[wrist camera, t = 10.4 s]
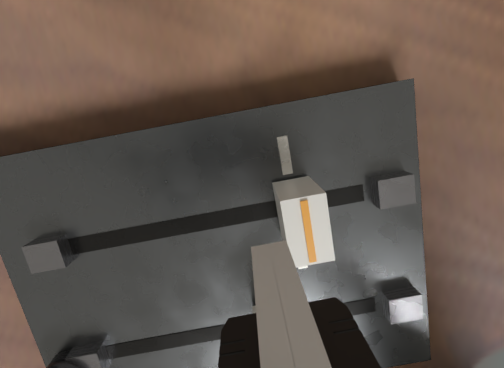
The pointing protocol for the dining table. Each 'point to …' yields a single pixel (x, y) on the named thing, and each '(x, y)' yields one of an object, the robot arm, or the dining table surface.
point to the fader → (304, 220)
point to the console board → (215, 229)
